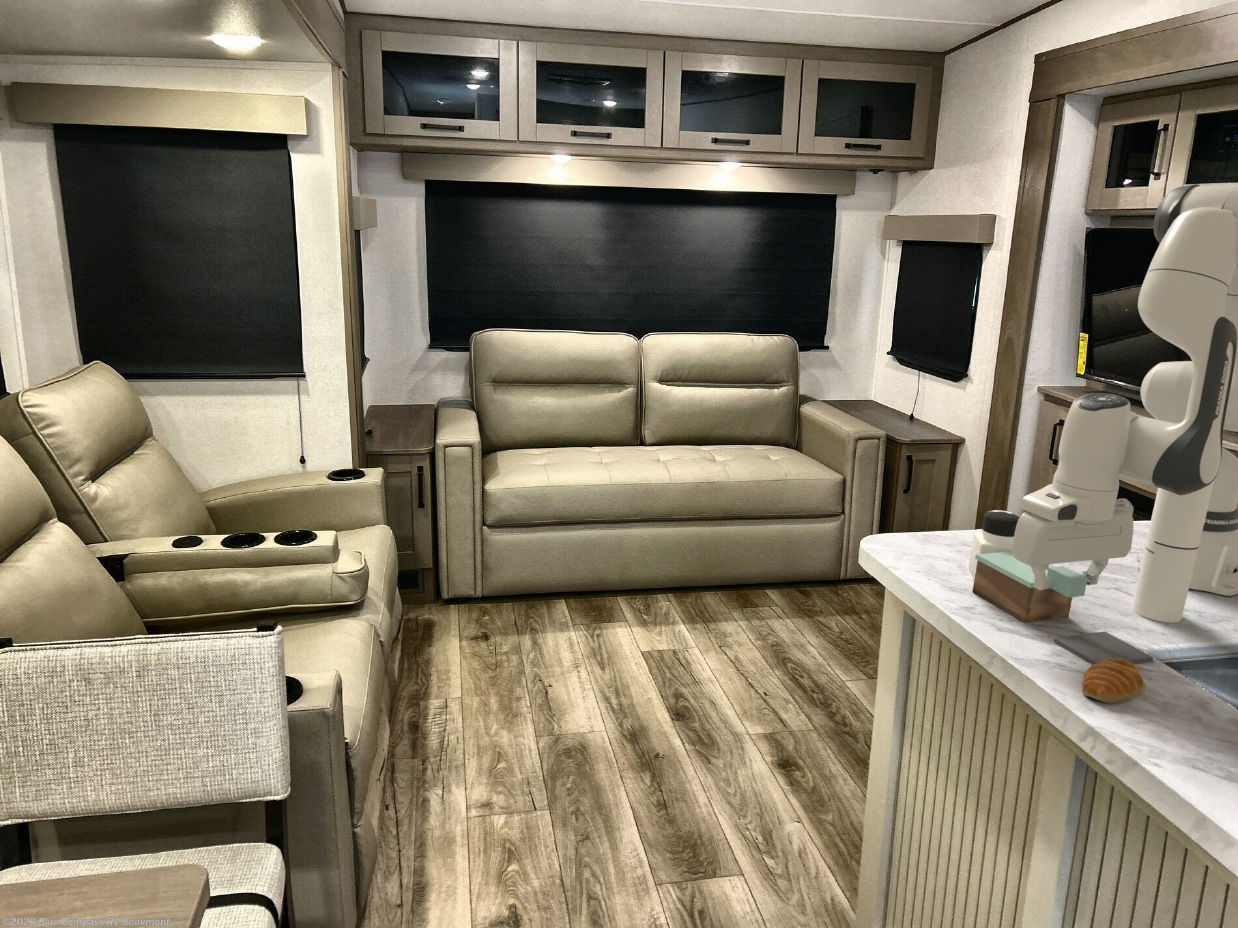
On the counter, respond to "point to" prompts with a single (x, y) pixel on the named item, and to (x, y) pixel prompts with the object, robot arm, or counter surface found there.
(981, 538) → the medicine bottle
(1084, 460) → the robot arm
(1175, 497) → the cylindrical container
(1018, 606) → the wooden box
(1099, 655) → the mat
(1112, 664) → the pastry
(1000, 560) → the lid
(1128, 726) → the counter surface
